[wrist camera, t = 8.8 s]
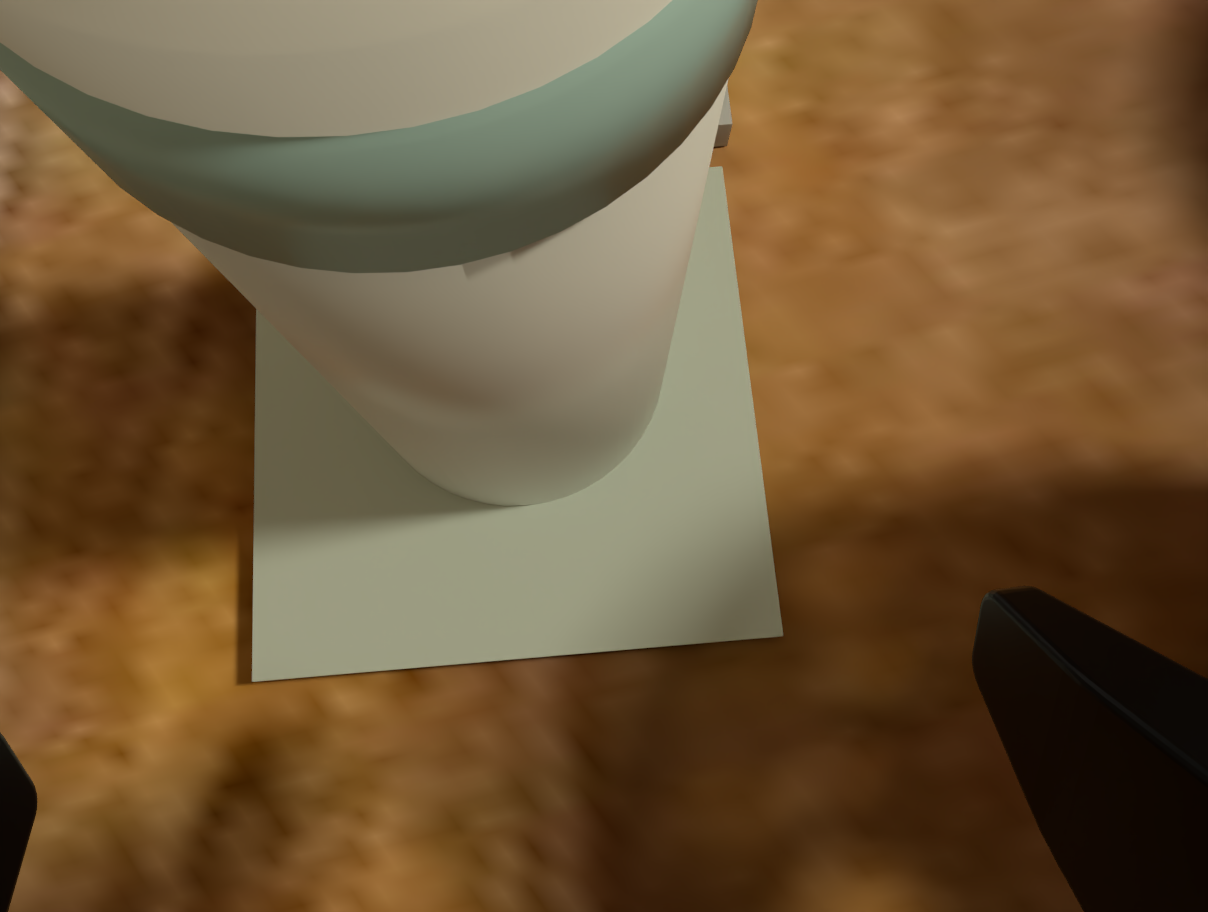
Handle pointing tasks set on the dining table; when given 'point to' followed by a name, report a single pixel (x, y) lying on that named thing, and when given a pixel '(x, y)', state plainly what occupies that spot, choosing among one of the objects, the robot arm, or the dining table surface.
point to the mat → (515, 520)
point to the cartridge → (422, 196)
